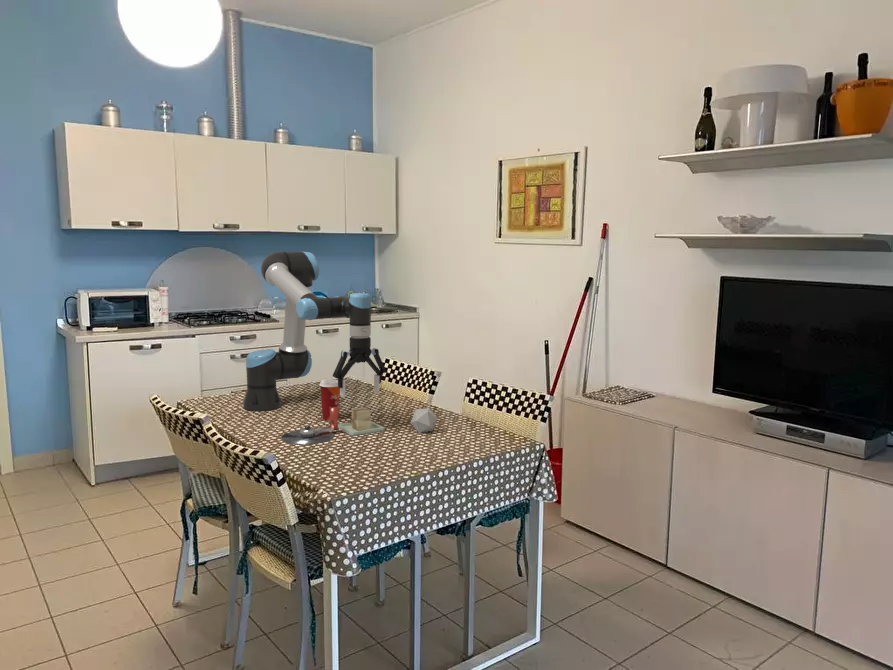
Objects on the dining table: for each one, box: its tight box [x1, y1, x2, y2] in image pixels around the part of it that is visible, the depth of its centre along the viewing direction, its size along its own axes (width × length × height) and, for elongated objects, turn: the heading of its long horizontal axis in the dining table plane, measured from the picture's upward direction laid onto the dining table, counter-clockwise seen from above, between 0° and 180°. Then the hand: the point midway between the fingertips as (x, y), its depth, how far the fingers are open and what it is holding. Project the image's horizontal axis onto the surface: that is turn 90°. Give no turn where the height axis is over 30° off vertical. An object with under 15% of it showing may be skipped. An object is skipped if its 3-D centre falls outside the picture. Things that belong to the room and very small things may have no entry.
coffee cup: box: [319, 378, 341, 422], centre depth 259 cm, size 8×8×15 cm
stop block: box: [351, 407, 371, 431], centre depth 245 cm, size 5×5×7 cm
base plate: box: [280, 425, 335, 446], centre depth 235 cm, size 18×18×4 cm
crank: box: [299, 407, 339, 437], centre depth 237 cm, size 14×5×9 cm, turn 125°
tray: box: [338, 420, 385, 437], centre depth 245 cm, size 13×13×2 cm
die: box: [410, 407, 438, 434], centre depth 244 cm, size 8×9×10 cm
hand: (359, 394), depth 244 cm, fingers open, 13 cm apart
